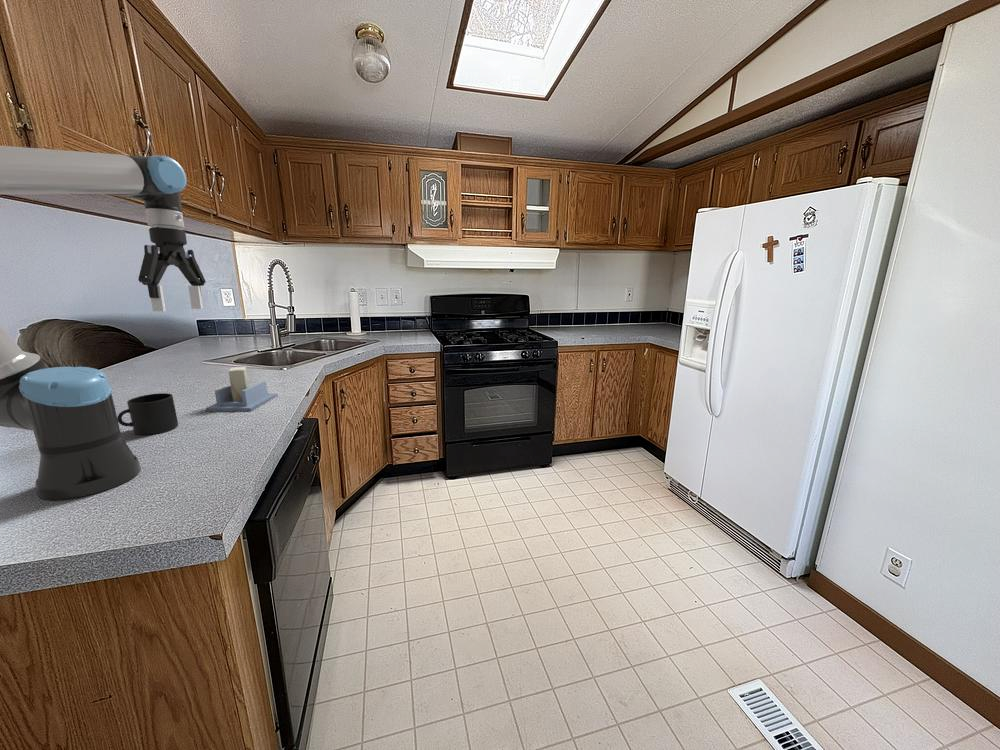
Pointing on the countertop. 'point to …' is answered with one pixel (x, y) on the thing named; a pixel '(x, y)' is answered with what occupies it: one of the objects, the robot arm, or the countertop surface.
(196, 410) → the countertop surface
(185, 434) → the countertop surface
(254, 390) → the slot bracket
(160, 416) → the mug
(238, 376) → the box
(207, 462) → the countertop surface
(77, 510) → the countertop surface
